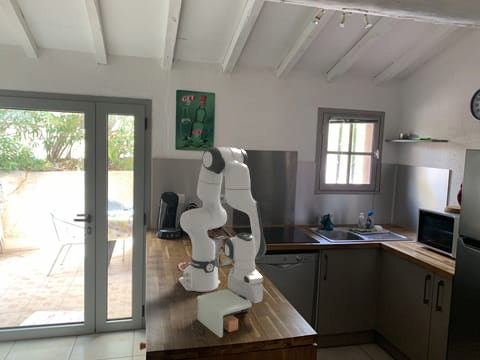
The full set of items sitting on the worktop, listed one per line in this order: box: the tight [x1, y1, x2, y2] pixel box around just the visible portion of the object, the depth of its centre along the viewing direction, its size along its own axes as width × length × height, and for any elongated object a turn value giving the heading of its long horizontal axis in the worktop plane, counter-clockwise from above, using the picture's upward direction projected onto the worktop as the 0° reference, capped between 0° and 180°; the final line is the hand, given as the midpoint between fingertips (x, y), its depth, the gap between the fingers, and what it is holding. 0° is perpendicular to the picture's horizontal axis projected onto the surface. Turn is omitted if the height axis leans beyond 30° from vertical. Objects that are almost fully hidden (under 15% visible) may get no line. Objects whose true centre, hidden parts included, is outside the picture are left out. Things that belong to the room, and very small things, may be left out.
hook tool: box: [223, 295, 250, 319], centre depth 143 cm, size 8×18×6 cm, turn 126°
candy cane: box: [177, 261, 191, 273], centre depth 203 cm, size 8×1×15 cm
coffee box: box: [212, 235, 232, 268], centre depth 210 cm, size 9×6×16 cm
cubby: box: [196, 288, 253, 339], centre depth 139 cm, size 17×14×9 cm
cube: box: [223, 315, 239, 333], centre depth 135 cm, size 4×4×4 cm
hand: (243, 305), depth 149 cm, fingers closed on hook tool, 3 cm apart
